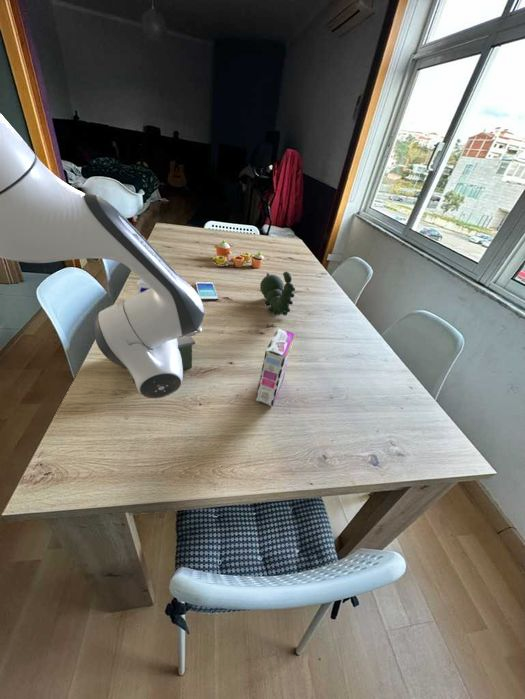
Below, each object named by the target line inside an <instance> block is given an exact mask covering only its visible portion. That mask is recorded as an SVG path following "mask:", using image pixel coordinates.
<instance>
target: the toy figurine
mask: <svg viewBox="0 0 525 699" xmlns="http://www.w3.org/2000/svg"><path fill="white" fill-rule="evenodd" d="M282 276H283V279H282V278H281V277H280V276H278V275H277V274H270V273H269V272H267V273H266V276H265V277H264V278H262V280H261V281H260V284H259V289H260V292H261V294H262V295H263V298H264V299H265V300H264V305H265V306H266V307H268V308H267V311H268V312H269V313H272V315H273V316H275V317H276V316H278V315H279V314H282V315H283V316H287V315H288V313H291V308H290V306H291V305H293V304H294V302H293V300H292V298H295V294H294V293H293V292H295V291H296V288H295V286H294V284H293V283H292V281H293V280H292V279H293V278H292V275H291V273H290V272H288V271H283V273H282ZM283 280H284V282H283ZM284 283H285V284H284Z"/></svg>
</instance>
